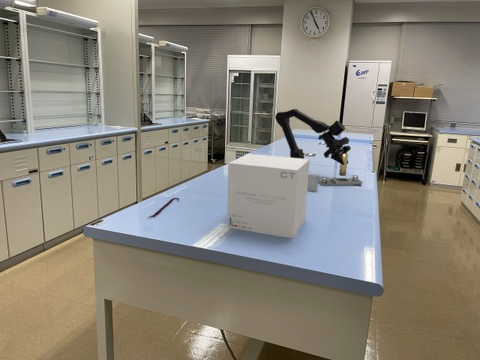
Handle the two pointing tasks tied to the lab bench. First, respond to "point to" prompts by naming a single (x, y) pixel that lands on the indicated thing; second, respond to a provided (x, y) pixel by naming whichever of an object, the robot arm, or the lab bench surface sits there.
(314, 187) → the medicine box
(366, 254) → the lab bench surface
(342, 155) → the brass pin
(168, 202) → the crowbar
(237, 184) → the cube
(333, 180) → the metal bracket
